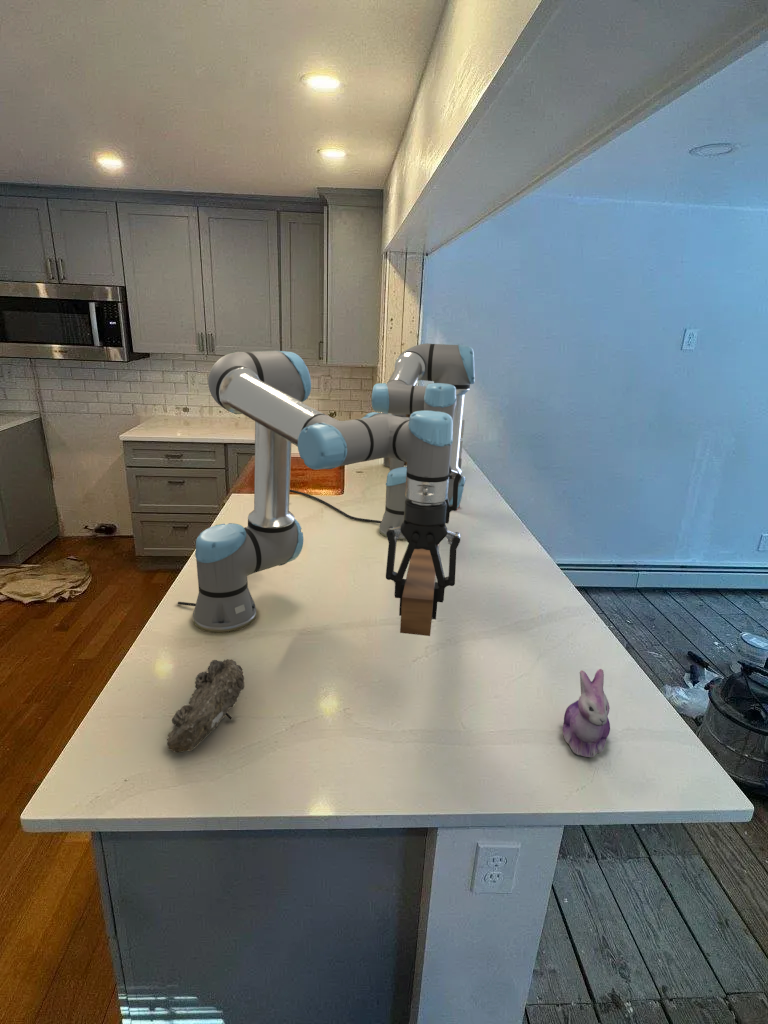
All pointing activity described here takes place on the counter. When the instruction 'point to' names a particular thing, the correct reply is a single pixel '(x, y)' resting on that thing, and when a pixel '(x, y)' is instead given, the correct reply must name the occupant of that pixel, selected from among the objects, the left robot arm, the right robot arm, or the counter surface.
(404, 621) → the bar
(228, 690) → the fossil
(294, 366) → the left robot arm
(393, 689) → the counter surface
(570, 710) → the figurine
